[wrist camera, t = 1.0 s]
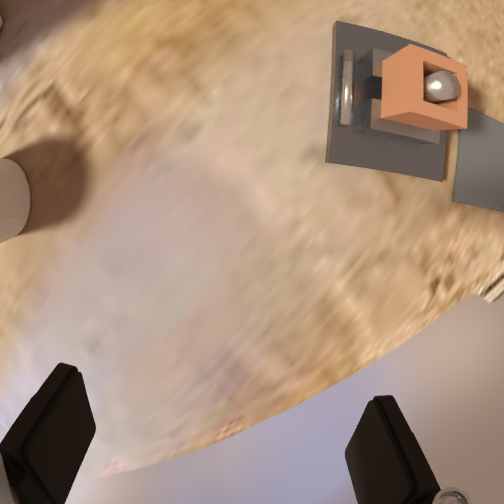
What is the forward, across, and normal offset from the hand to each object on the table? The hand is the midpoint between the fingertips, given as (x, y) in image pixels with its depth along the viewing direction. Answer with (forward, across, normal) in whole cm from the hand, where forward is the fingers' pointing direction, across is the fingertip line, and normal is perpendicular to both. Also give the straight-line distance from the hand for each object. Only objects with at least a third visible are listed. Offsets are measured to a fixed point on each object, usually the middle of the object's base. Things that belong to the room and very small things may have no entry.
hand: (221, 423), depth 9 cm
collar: (+22, -15, -16) cm, 31 cm away
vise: (+26, -15, -16) cm, 34 cm away
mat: (+26, -31, -13) cm, 43 cm away
